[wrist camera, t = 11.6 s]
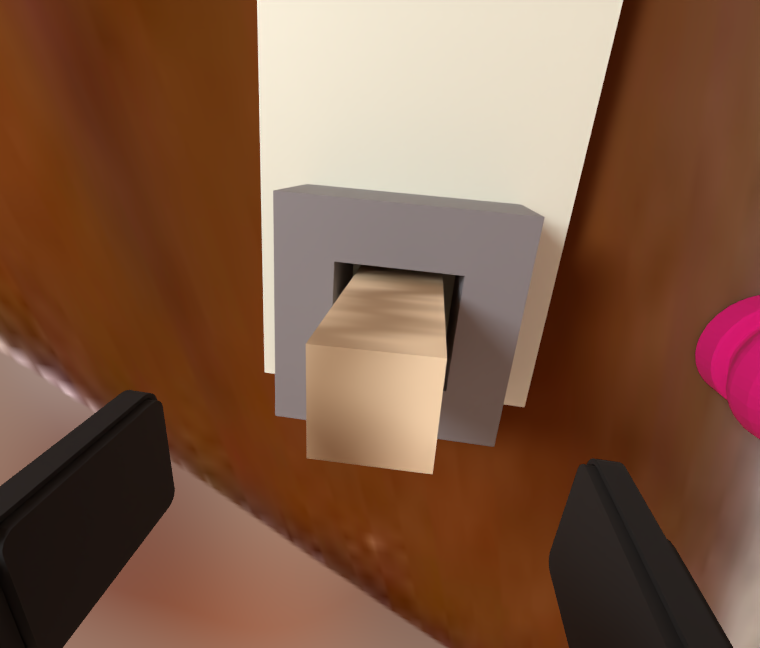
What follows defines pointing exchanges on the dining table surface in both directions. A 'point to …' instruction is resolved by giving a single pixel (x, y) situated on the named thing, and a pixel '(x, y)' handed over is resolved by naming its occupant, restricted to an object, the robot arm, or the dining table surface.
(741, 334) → the pink bowling pin
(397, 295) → the square wooden peg
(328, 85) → the board
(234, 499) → the dining table surface
